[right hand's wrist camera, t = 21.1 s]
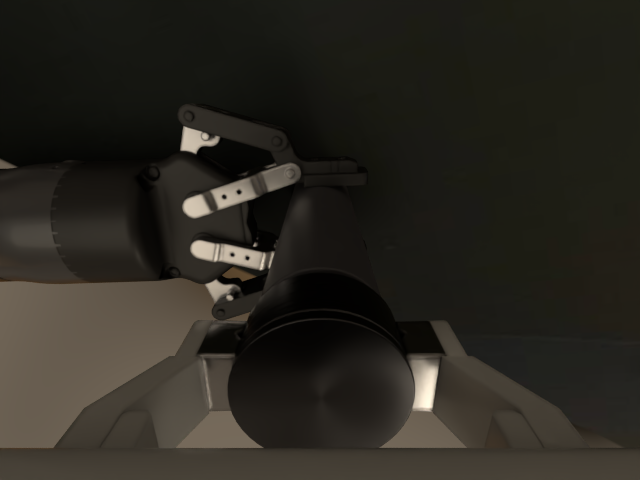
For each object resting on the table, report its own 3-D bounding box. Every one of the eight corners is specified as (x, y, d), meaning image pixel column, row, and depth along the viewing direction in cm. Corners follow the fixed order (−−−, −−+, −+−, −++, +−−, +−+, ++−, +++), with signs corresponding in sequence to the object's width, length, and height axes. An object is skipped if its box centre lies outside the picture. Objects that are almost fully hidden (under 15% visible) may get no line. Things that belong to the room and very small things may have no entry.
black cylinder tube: (356, 200, 28) (426, 394, 9) (311, 225, 29) (296, 449, 10) (330, 155, 26) (352, 275, 8) (284, 182, 27) (209, 350, 9)
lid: (306, 416, 12) (303, 486, 9) (214, 324, 10) (186, 381, 8) (424, 351, 11) (450, 413, 8) (340, 241, 9) (345, 281, 7)
